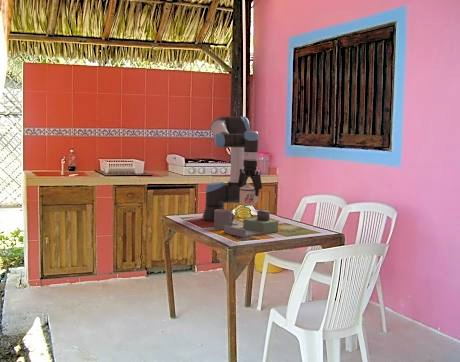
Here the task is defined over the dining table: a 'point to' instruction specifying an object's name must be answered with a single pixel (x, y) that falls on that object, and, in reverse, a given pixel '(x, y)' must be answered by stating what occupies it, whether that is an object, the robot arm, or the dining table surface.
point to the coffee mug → (222, 218)
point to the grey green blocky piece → (254, 225)
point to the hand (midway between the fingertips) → (249, 200)
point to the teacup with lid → (247, 195)
